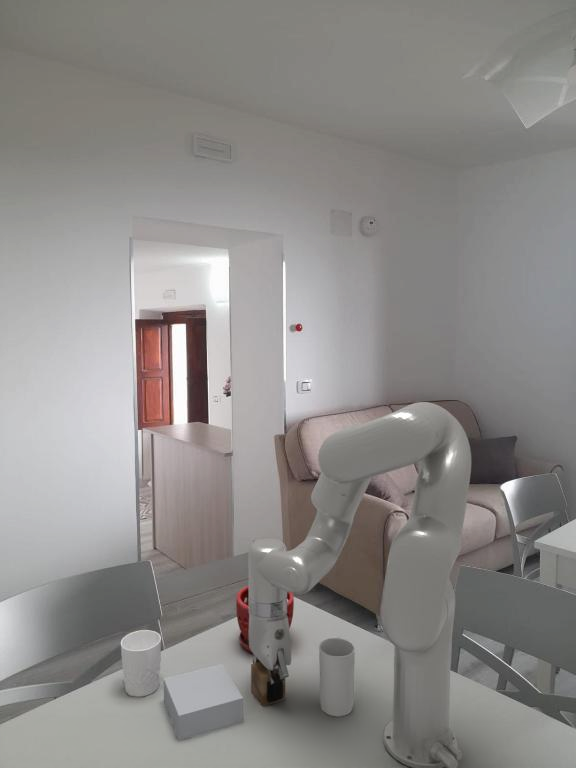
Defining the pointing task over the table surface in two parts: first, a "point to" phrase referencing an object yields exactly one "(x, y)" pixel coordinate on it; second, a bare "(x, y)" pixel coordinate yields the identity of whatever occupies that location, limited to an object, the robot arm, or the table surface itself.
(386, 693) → the table surface
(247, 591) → the plant pot
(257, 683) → the walnut block
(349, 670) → the mug
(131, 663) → the white cup
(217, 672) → the grey block
